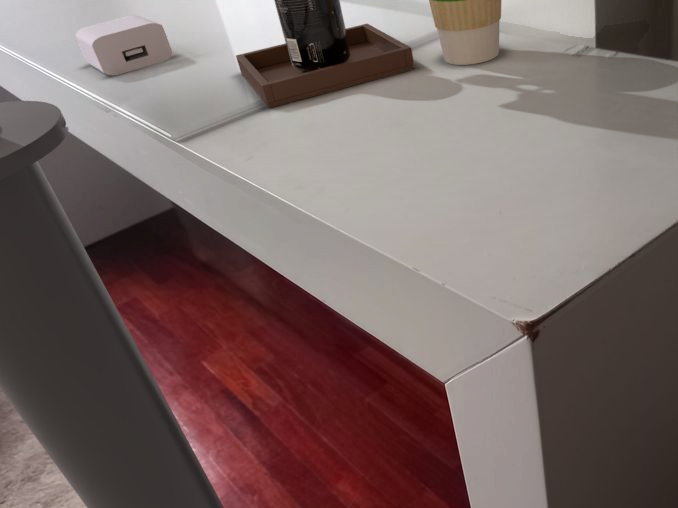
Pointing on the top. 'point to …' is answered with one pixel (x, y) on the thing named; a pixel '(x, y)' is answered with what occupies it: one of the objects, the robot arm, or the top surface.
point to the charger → (124, 44)
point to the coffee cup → (467, 29)
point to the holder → (291, 84)
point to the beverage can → (313, 33)
